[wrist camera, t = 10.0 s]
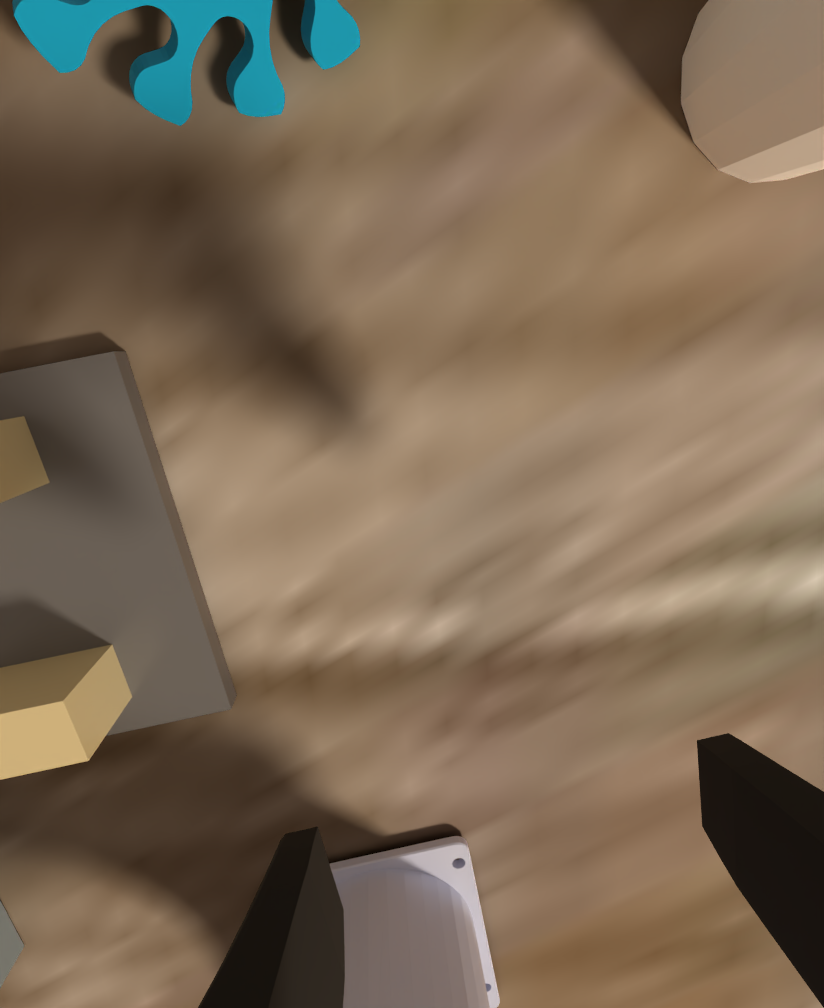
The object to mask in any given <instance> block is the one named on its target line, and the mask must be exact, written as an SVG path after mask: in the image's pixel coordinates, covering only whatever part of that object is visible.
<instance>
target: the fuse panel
mask: <svg viewBox="0 0 824 1008" xmlns="http://www.w3.org/2000/svg"><path fill="white" fill-rule="evenodd" d="M236 696H237V695H236V692H235V689H234V686H233V683H232V679H231V676H230V673H229V670H228V667H227V664H226V661H225V658H224V655H223V652H222V648H221V645H220V642H219V639H218V636H217V633H216V630H215V627H214V624H213V621H212V618H211V614H210V611H209V608H208V605H207V602H206V599H205V596H204V593H203V590H202V587H201V583H200V580H199V577H198V574H197V571H196V568H195V565H194V562H193V559H192V556H191V553H190V549H189V546H188V543H187V540H186V537H185V534H184V531H183V528H182V525H181V522H180V519H179V515H178V512H177V509H176V506H175V503H174V500H173V497H172V494H171V491H170V488H169V484H168V481H167V478H166V475H165V472H164V469H163V466H162V463H161V460H160V457H159V454H158V450H157V447H156V444H155V441H154V438H153V435H152V432H151V429H150V426H149V423H148V419H147V416H146V413H145V410H144V407H143V404H142V401H141V398H140V395H139V392H138V389H137V385H136V382H135V379H134V376H133V373H132V370H131V367H130V364H129V361H128V358H127V354H126V351H113V352H108V353H103V354H97V355H92V356H87V357H82V358H77V359H72V360H67V361H61V362H56V363H51V364H46V365H41V366H36V367H31V368H25V369H20V370H15V371H10V372H5V373H0V780H1V779H6V778H11V777H16V776H20V775H25V774H30V773H34V772H39V771H44V770H48V769H53V768H58V767H62V766H67V765H72V764H76V763H81V762H86V761H89V760H90V758H91V757H92V755H93V754H94V752H95V751H96V749H97V748H98V746H99V745H100V743H101V742H102V741H103V739H104V738H105V736H108V735H113V734H117V733H122V732H127V731H132V730H136V729H141V728H146V727H150V726H155V725H160V724H164V723H169V722H174V721H179V720H183V719H188V718H193V717H197V716H202V715H207V714H211V713H216V712H221V711H226V710H230V709H232V706H233V703H234V701H235V698H236Z"/></svg>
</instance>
